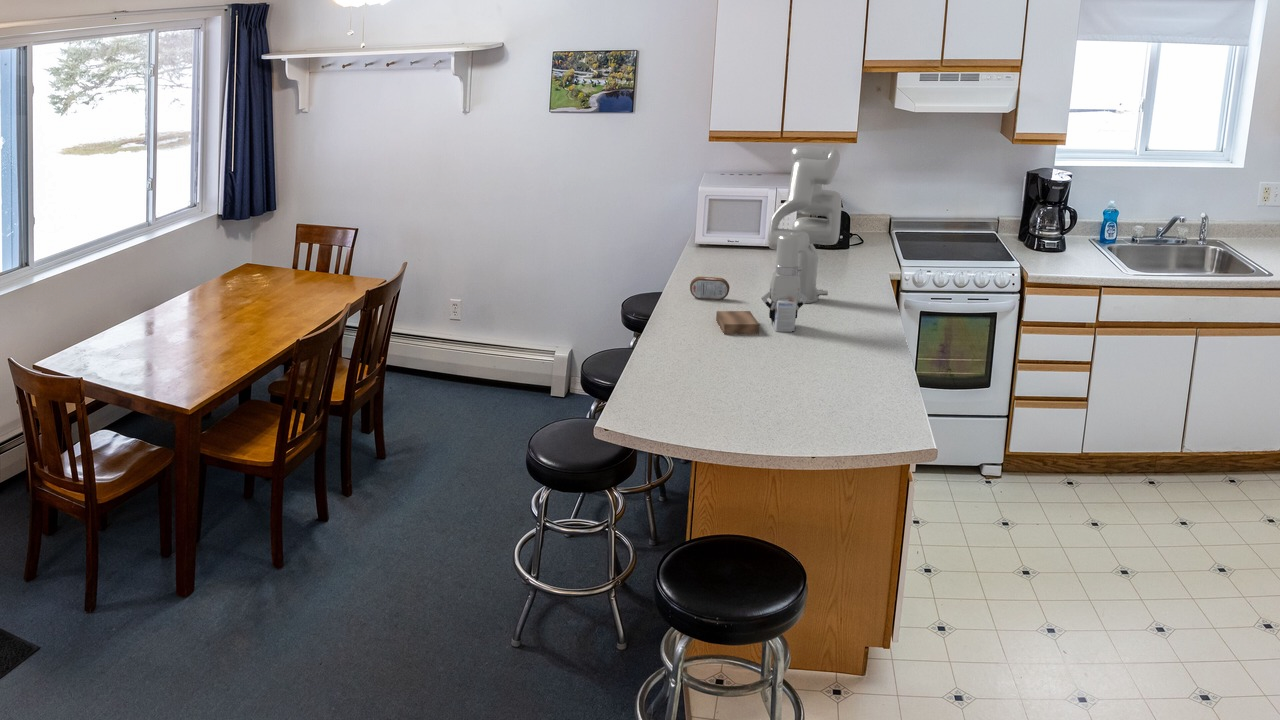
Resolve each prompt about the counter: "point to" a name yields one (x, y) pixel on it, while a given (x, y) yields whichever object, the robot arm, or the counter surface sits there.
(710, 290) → the tin
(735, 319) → the walnut block
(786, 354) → the counter surface
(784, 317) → the light bulb box
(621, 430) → the counter surface
